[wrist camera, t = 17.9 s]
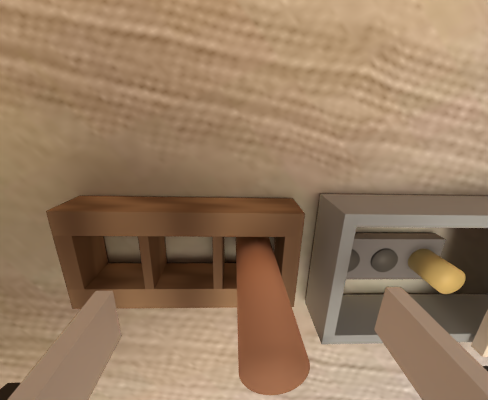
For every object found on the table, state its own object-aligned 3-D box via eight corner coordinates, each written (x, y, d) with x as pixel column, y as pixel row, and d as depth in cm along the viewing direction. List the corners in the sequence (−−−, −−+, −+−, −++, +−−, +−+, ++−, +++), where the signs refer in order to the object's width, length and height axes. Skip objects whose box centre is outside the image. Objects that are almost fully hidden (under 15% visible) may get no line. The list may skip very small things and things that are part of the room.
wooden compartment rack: (97, 280, 18) (72, 308, 16) (79, 195, 16) (46, 211, 13) (285, 279, 19) (293, 306, 16) (293, 198, 17) (304, 213, 14)
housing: (305, 302, 20) (321, 344, 16) (320, 193, 17) (345, 214, 13) (545, 300, 21) (614, 339, 17) (603, 197, 18) (703, 217, 14)
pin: (235, 255, 18) (238, 396, 9) (236, 225, 17) (239, 343, 8) (267, 254, 18) (305, 394, 9) (269, 225, 17) (313, 341, 8)
